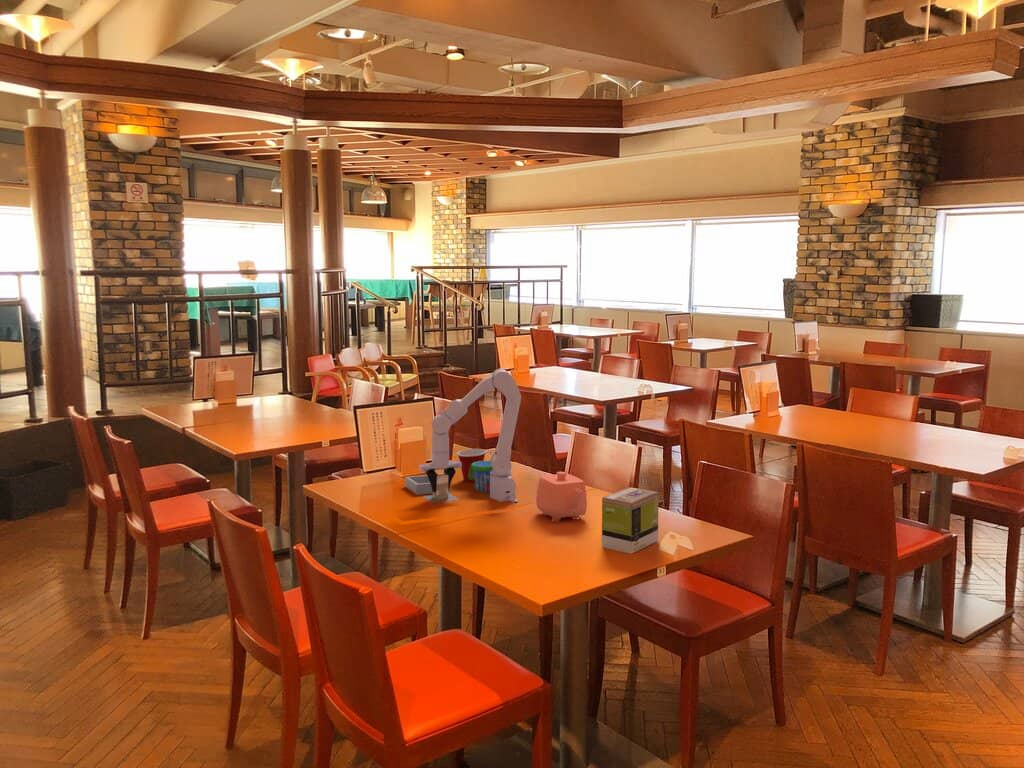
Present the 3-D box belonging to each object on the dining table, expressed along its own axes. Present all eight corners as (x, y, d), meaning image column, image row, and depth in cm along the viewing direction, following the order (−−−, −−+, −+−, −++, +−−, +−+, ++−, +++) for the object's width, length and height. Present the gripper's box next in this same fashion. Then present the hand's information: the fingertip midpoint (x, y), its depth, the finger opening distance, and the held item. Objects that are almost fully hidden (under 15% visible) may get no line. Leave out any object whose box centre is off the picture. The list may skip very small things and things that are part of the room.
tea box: (628, 534, 240) (629, 485, 238) (658, 542, 234) (660, 491, 232) (600, 547, 229) (601, 495, 227) (631, 555, 222) (632, 502, 220)
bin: (449, 493, 284) (449, 481, 283) (416, 497, 279) (416, 484, 278) (437, 486, 295) (437, 473, 294) (405, 489, 289) (405, 476, 289)
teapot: (596, 524, 251) (597, 478, 249) (559, 528, 245) (560, 482, 244) (563, 505, 270) (564, 463, 269) (528, 509, 265) (529, 467, 264)
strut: (448, 498, 274) (448, 475, 273) (437, 499, 272) (437, 476, 271) (443, 495, 278) (443, 472, 277) (432, 496, 276) (432, 473, 275)
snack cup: (460, 490, 289) (460, 462, 288) (482, 485, 296) (482, 458, 295) (491, 498, 278) (491, 468, 277) (513, 493, 285) (513, 464, 284)
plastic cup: (454, 480, 304) (455, 448, 302) (483, 479, 306) (483, 447, 304) (458, 487, 293) (458, 454, 292) (488, 486, 295) (488, 453, 294)
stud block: (460, 502, 273) (460, 491, 272) (431, 506, 268) (431, 494, 268) (448, 495, 282) (448, 484, 281) (421, 498, 277) (421, 487, 277)
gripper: (456, 447, 280) (456, 485, 281) (415, 450, 273) (416, 490, 275) (464, 450, 273) (464, 490, 275) (423, 454, 267) (423, 495, 269)
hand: (440, 490), depth 275 cm, fingers closed on strut, 4 cm apart
